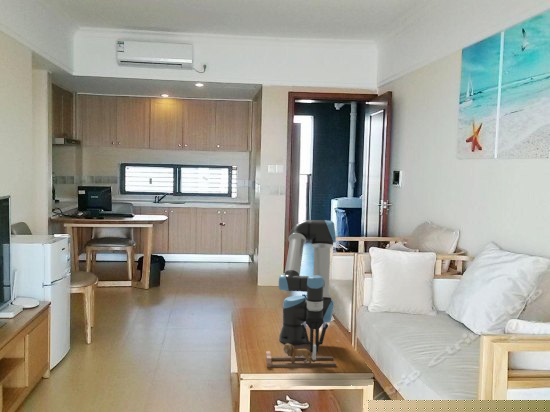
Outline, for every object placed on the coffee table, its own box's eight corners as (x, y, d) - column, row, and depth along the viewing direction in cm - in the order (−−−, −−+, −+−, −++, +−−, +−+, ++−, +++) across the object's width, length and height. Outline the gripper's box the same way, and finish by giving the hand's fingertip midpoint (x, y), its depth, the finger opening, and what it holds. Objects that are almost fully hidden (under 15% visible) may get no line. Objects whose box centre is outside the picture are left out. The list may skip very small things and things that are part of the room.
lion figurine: (283, 364, 247) (283, 345, 247) (283, 360, 253) (283, 341, 252) (315, 365, 247) (315, 345, 246) (314, 361, 252) (314, 342, 251)
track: (265, 359, 253) (265, 351, 253) (332, 358, 255) (332, 350, 255) (266, 367, 243) (266, 358, 243) (336, 366, 245) (336, 357, 245)
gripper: (301, 311, 244) (301, 361, 246) (330, 311, 245) (329, 361, 246) (300, 307, 252) (299, 356, 253) (327, 307, 252) (326, 356, 254)
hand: (314, 358), depth 250 cm, fingers closed
